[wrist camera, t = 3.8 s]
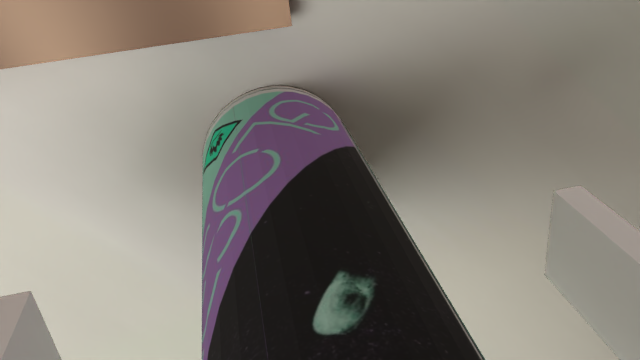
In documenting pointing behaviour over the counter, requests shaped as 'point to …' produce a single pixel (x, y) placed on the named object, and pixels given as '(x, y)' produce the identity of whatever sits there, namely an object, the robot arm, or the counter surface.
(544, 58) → the counter surface
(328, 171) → the spray can
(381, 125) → the counter surface
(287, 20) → the socket board
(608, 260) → the robot arm
